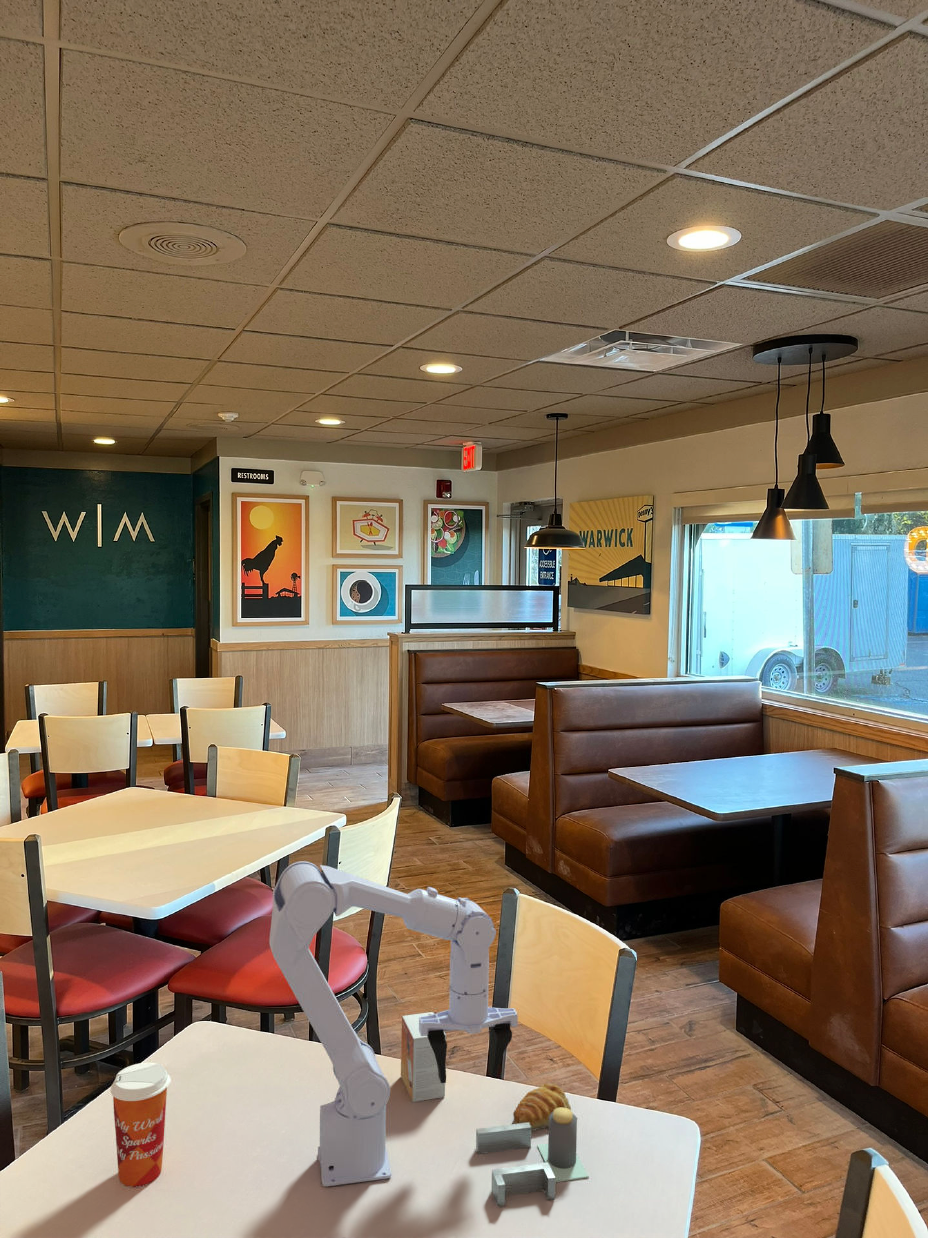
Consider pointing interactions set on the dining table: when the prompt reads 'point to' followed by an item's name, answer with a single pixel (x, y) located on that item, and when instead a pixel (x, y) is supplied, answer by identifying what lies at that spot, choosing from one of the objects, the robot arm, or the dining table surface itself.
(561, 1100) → the pastry
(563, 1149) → the grey canister
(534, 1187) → the metal brackets
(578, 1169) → the mat
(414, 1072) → the small box
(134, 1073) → the paper cup
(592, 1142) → the dining table surface
